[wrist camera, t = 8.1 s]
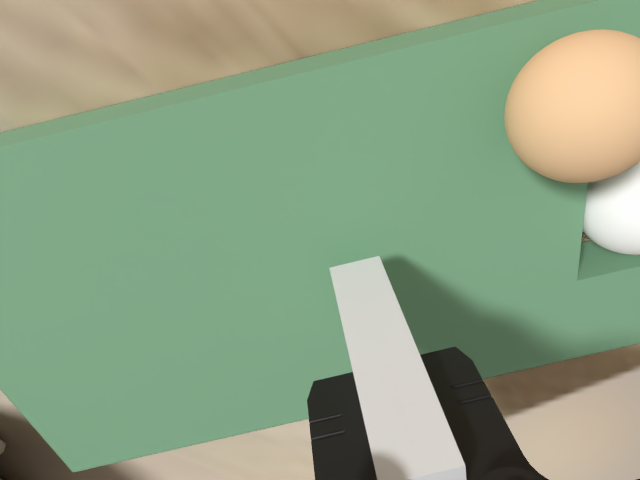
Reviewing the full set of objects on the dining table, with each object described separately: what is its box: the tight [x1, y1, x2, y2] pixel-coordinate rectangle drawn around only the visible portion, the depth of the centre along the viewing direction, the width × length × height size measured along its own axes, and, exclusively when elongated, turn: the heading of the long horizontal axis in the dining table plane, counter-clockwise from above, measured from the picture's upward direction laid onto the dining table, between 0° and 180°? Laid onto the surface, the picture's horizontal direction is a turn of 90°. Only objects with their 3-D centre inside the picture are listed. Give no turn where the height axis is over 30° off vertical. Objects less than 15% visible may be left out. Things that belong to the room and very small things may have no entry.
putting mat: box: [0, 0, 640, 472], centre depth 15 cm, size 28×13×4 cm, turn 102°
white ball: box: [583, 162, 640, 255], centre depth 15 cm, size 4×4×4 cm
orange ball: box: [504, 29, 640, 183], centre depth 11 cm, size 4×4×4 cm
